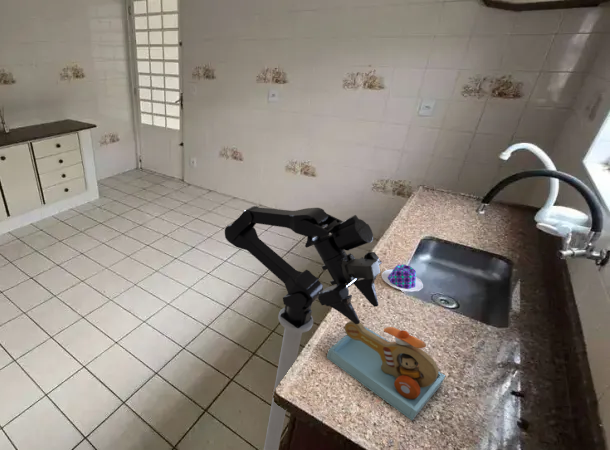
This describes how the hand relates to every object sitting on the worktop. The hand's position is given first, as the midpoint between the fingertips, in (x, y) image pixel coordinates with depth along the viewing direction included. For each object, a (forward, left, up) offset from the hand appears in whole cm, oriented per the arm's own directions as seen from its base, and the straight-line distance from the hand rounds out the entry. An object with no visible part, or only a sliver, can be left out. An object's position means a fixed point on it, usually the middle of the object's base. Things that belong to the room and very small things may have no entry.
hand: (367, 314), depth 83 cm
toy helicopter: (+7, +1, -13) cm, 15 cm away
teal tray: (+6, +1, -14) cm, 15 cm away
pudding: (-8, +41, -14) cm, 44 cm away
